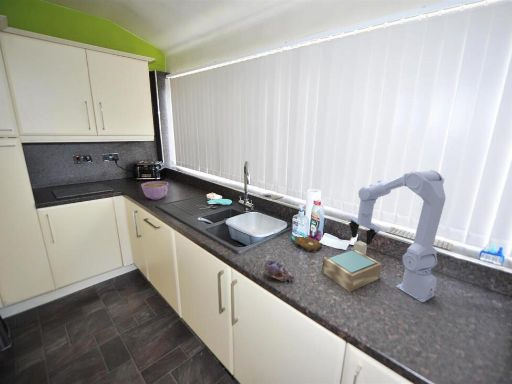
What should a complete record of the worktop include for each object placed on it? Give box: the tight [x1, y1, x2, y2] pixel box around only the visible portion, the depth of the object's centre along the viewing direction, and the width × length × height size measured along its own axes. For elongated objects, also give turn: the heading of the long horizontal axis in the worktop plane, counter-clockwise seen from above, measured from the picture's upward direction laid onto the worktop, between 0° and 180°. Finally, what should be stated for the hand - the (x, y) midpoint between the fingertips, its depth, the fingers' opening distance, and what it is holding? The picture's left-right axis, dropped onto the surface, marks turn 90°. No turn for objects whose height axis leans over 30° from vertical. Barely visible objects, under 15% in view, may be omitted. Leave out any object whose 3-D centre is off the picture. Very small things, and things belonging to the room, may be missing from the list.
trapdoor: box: [329, 250, 375, 274], centre depth 95 cm, size 11×14×1 cm
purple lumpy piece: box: [263, 259, 295, 282], centre depth 93 cm, size 12×8×6 cm, turn 56°
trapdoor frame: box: [321, 247, 383, 293], centre depth 95 cm, size 14×17×7 cm
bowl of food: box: [140, 180, 169, 201], centre depth 187 cm, size 20×20×12 cm
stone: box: [352, 240, 368, 256], centre depth 112 cm, size 4×4×6 cm
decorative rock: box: [293, 235, 323, 253], centre depth 119 cm, size 11×4×15 cm
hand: (361, 240), depth 111 cm, fingers open, 7 cm apart
